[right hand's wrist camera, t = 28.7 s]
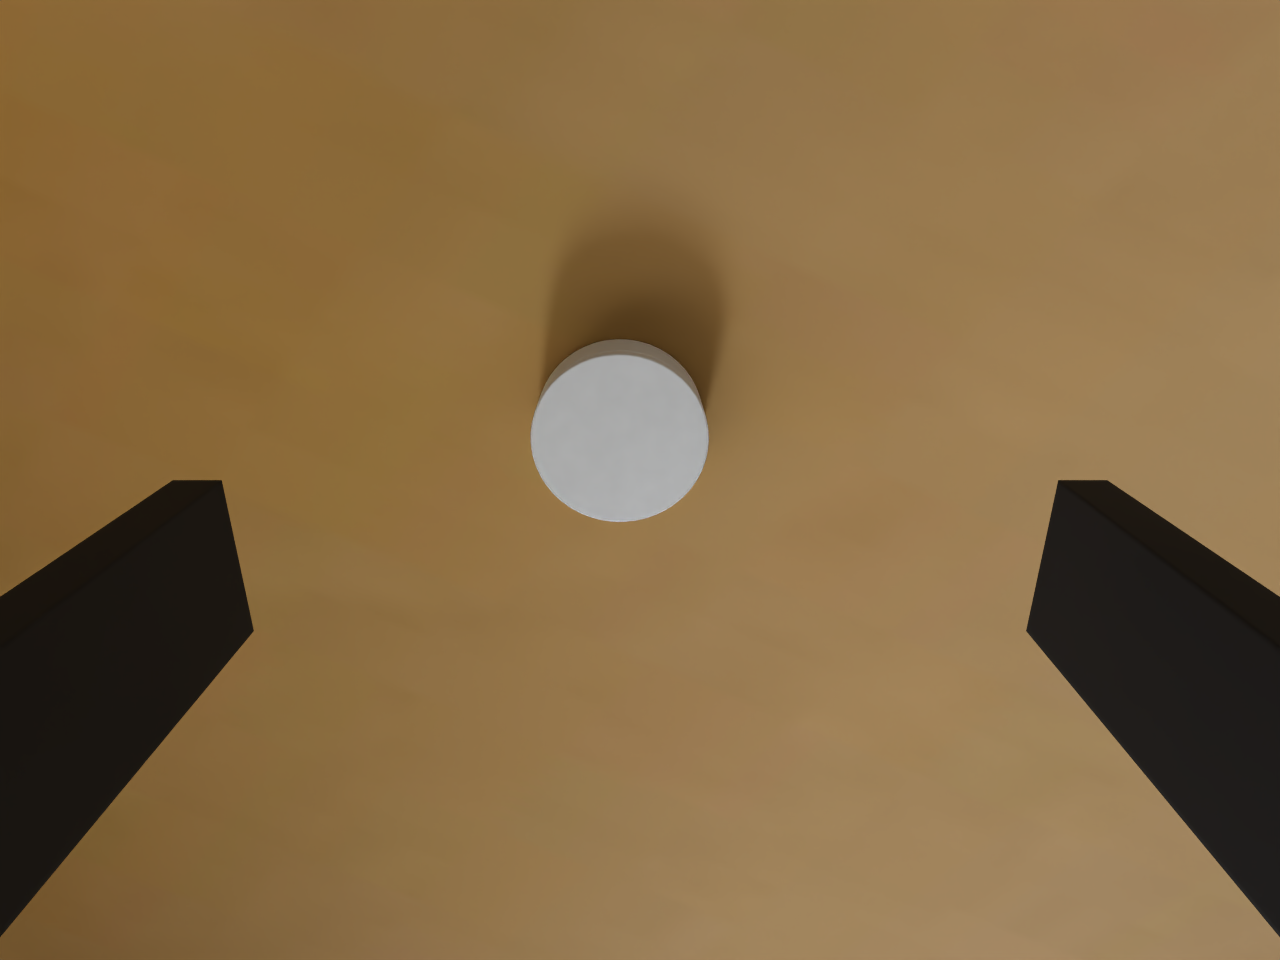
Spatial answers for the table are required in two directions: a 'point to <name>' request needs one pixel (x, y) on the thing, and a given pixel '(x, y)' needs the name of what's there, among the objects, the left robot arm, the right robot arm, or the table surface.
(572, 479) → the cap
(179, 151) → the table surface
